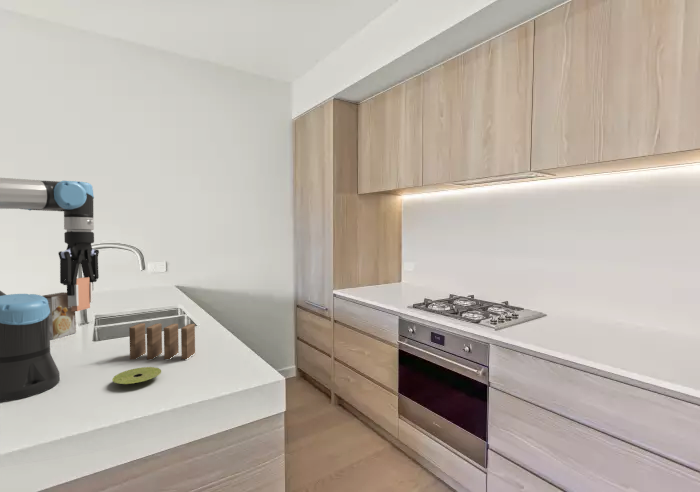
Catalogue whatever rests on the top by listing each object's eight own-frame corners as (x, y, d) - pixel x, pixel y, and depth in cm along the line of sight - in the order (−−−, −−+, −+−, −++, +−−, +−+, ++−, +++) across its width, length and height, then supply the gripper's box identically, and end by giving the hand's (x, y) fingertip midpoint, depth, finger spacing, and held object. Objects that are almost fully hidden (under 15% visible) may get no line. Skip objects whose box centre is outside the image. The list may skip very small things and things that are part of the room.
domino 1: (90, 307, 117) (89, 277, 117) (77, 311, 112) (76, 279, 112) (84, 307, 117) (84, 277, 117) (71, 311, 112) (71, 279, 112)
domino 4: (178, 354, 117) (178, 323, 117) (169, 359, 112) (169, 328, 112) (173, 354, 117) (172, 323, 117) (164, 359, 112) (163, 328, 112)
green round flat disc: (111, 394, 88) (111, 387, 88) (112, 379, 97) (112, 371, 97) (163, 384, 94) (163, 377, 94) (159, 370, 103) (159, 363, 103)
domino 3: (162, 353, 117) (161, 323, 117) (152, 359, 112) (152, 327, 112) (156, 353, 118) (156, 323, 117) (147, 359, 112) (146, 327, 112)
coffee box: (63, 332, 143) (62, 291, 142) (76, 333, 142) (75, 292, 141) (39, 338, 134) (37, 295, 133) (53, 339, 133) (51, 296, 132)
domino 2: (145, 353, 118) (145, 323, 117) (135, 359, 113) (134, 327, 112) (140, 353, 118) (139, 323, 117) (130, 359, 113) (129, 327, 112)
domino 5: (195, 354, 117) (194, 324, 117) (187, 360, 112) (186, 328, 111) (189, 354, 117) (189, 323, 117) (181, 360, 112) (181, 328, 112)
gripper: (67, 230, 105) (68, 310, 106) (111, 231, 123) (112, 298, 124) (42, 230, 105) (44, 309, 106) (89, 231, 123) (91, 298, 124)
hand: (80, 303), depth 115 cm, fingers closed on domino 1, 5 cm apart
